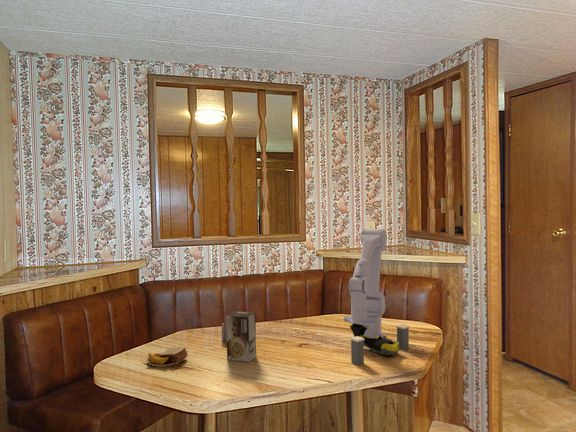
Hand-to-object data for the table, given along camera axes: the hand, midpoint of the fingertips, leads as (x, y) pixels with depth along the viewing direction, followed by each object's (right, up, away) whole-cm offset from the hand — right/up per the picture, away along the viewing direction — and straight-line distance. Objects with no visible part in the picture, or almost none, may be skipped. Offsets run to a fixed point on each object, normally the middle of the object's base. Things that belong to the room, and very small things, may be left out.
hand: (358, 343), depth 165 cm
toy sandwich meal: (-70, -3, -12) cm, 71 cm away
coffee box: (-44, -3, -10) cm, 45 cm away
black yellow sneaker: (+7, -2, -6) cm, 9 cm away
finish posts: (+7, -2, -9) cm, 11 cm away
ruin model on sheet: (-48, -2, +12) cm, 50 cm away
